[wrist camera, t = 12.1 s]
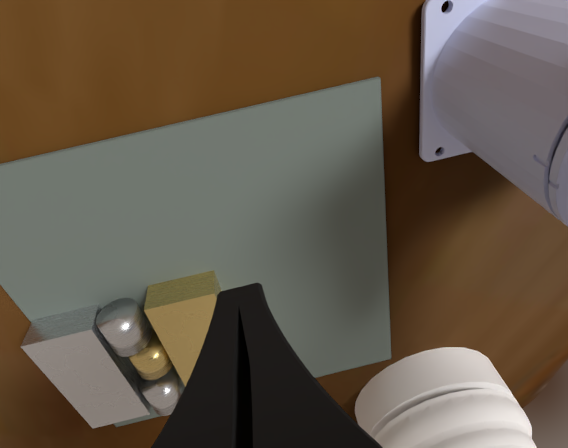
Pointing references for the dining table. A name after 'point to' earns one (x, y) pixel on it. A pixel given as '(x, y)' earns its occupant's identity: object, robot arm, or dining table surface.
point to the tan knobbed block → (177, 324)
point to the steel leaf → (101, 362)
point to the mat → (218, 220)
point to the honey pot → (442, 404)
